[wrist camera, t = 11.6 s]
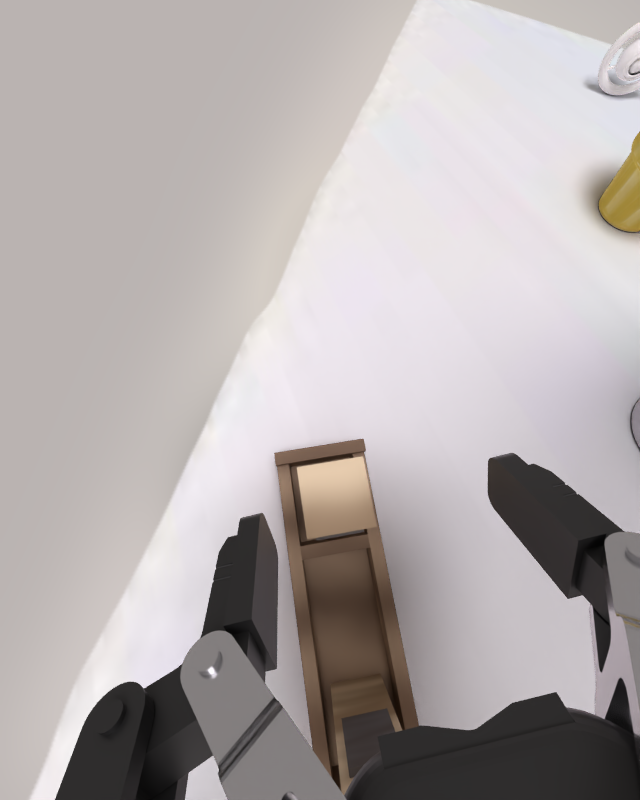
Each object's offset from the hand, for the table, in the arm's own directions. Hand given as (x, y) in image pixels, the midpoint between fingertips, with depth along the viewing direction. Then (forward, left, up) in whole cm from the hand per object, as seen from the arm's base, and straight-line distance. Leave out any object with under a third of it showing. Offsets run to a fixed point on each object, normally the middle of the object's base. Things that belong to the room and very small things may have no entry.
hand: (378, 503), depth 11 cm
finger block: (0, -1, -19) cm, 19 cm away
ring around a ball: (-67, +18, -20) cm, 72 cm away
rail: (+7, +3, -20) cm, 21 cm away
